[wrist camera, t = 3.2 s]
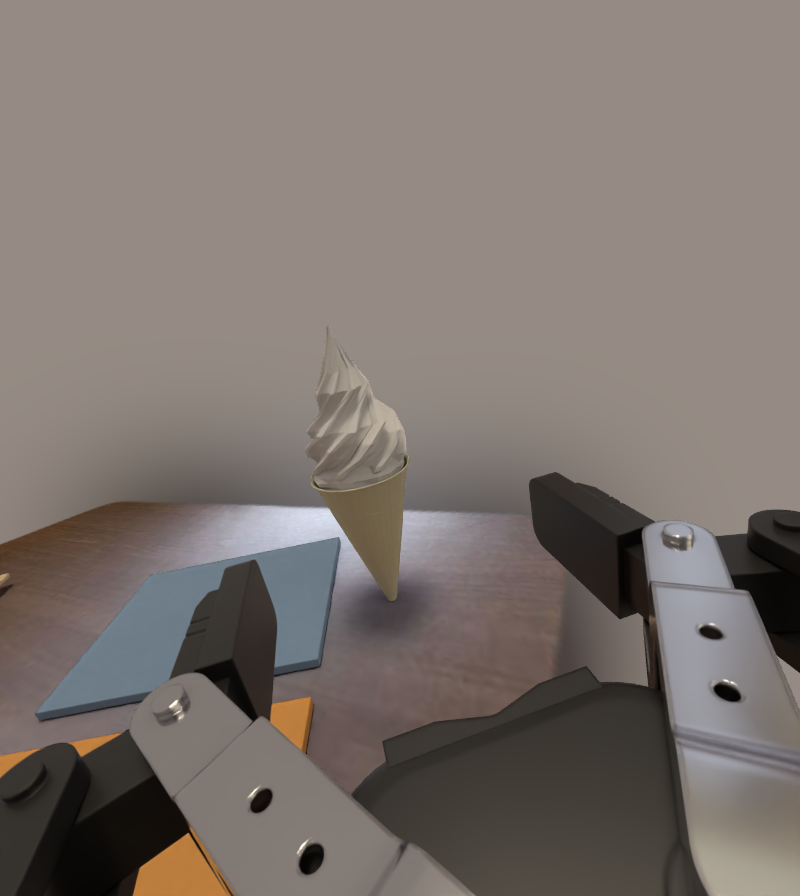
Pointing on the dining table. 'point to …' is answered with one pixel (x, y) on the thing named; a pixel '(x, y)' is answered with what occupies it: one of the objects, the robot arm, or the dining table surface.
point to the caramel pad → (181, 865)
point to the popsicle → (3, 578)
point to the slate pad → (169, 614)
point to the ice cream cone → (360, 464)
